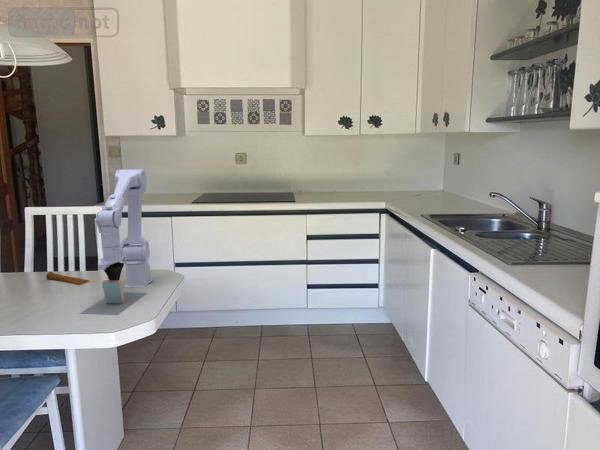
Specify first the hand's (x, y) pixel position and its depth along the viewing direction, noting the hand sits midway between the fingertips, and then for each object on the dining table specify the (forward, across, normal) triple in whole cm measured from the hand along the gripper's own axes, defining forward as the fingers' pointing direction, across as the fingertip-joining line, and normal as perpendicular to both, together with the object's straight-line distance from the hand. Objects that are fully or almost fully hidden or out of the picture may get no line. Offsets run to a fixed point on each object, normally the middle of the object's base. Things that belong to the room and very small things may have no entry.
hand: (114, 285), depth 153 cm
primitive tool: (+7, -23, -33) cm, 41 cm away
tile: (+6, +1, 0) cm, 6 cm away
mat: (+6, +1, 0) cm, 6 cm away
